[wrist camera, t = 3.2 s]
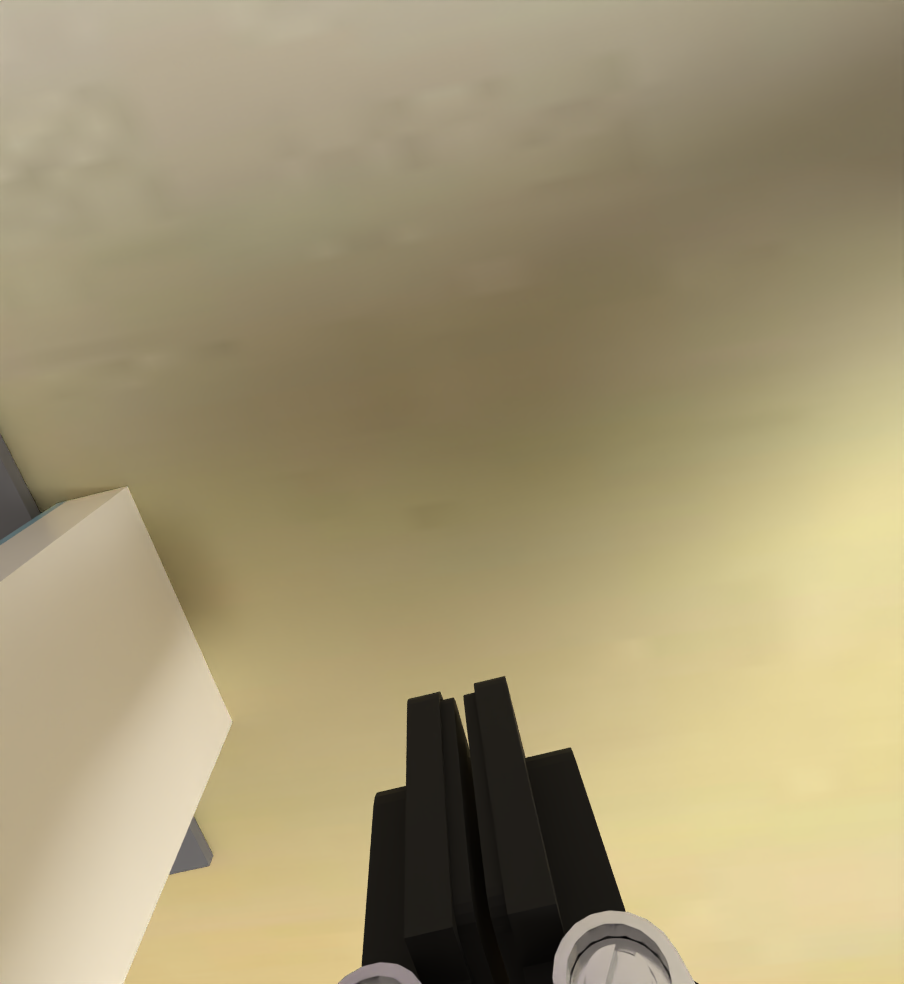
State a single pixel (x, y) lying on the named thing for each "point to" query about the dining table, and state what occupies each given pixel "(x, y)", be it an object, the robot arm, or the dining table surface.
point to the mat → (3, 510)
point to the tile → (93, 739)
